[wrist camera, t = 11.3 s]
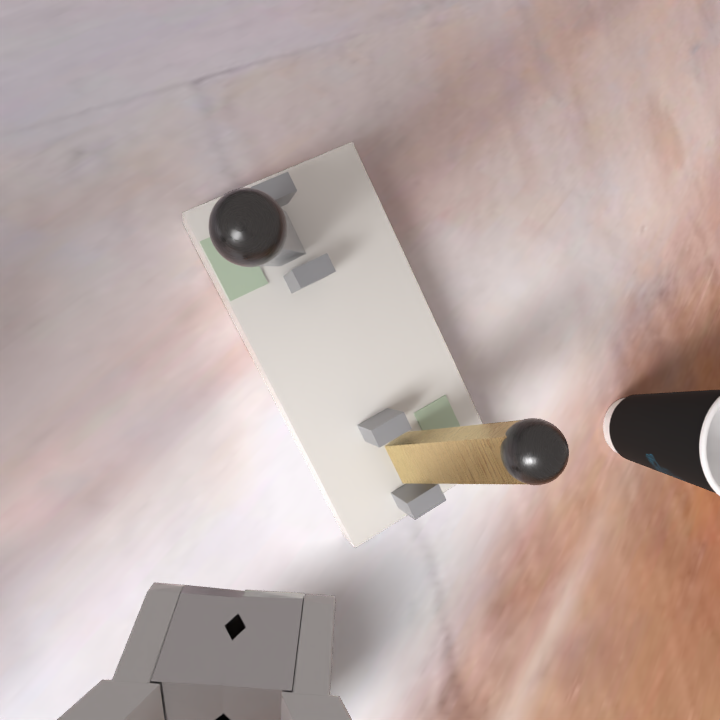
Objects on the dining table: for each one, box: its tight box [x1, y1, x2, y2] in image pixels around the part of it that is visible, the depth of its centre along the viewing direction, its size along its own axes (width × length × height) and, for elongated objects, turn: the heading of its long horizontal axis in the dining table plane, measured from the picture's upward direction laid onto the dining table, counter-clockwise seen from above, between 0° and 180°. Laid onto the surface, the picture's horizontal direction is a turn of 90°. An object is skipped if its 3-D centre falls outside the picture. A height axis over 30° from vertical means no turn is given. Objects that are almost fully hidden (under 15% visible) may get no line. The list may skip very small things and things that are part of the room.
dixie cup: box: [603, 390, 720, 496], centre depth 43 cm, size 8×8×11 cm
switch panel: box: [183, 142, 483, 548], centre depth 38 cm, size 12×24×6 cm, turn 27°
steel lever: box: [209, 188, 306, 267], centre depth 30 cm, size 3×3×12 cm
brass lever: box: [385, 418, 569, 485], centre depth 33 cm, size 3×3×12 cm
